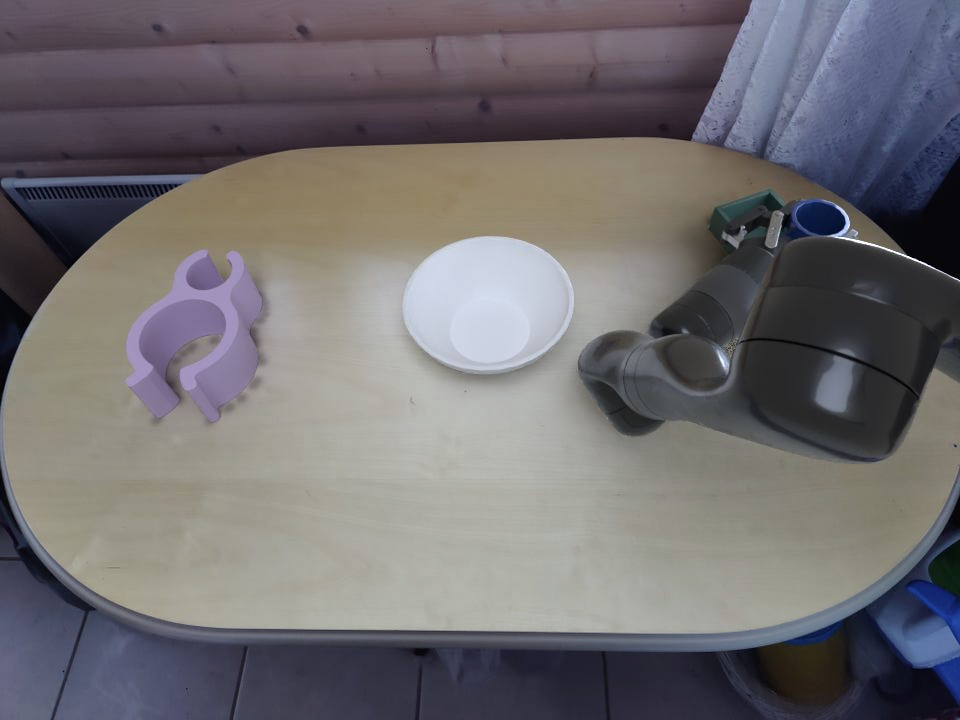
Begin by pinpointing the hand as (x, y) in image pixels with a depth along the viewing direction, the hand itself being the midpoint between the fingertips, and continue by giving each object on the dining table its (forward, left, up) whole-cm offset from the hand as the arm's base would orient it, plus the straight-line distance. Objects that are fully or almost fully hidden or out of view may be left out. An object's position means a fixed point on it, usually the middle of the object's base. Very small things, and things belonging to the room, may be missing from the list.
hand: (826, 220), depth 78 cm
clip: (+59, +45, -9) cm, 74 cm away
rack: (+4, 0, -9) cm, 10 cm away
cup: (+1, +2, -8) cm, 8 cm away
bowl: (+30, +27, -9) cm, 41 cm away
